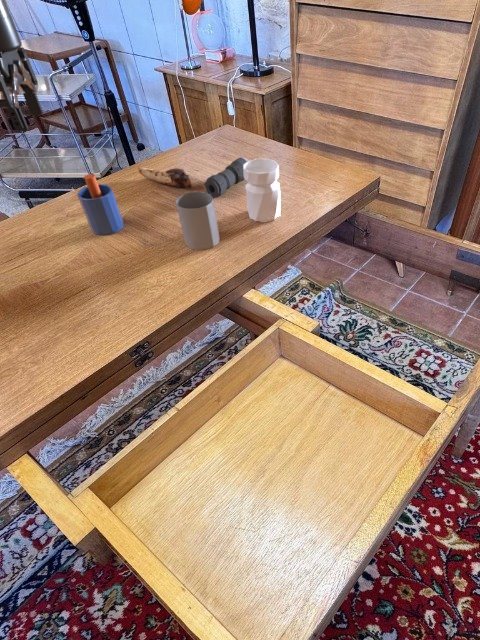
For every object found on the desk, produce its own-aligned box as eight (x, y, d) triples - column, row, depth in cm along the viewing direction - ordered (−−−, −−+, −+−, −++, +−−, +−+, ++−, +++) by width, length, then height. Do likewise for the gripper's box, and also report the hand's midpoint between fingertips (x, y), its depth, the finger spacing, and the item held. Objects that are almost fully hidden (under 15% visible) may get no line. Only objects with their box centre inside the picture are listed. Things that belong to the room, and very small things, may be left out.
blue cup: (88, 235, 110) (73, 200, 103) (96, 219, 115) (82, 184, 108) (120, 234, 110) (107, 199, 103) (127, 218, 115) (115, 183, 108)
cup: (182, 235, 109) (172, 195, 101) (214, 228, 111) (207, 188, 103) (189, 253, 104) (180, 212, 96) (223, 245, 106) (216, 204, 98)
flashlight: (220, 201, 120) (216, 180, 116) (204, 196, 122) (201, 176, 118) (252, 178, 128) (250, 159, 124) (237, 174, 130) (235, 155, 126)
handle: (101, 227, 111) (82, 178, 102) (103, 222, 113) (85, 173, 103) (111, 227, 111) (93, 178, 102) (113, 221, 113) (96, 173, 104)
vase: (279, 222, 112) (277, 174, 103) (246, 222, 113) (240, 173, 103) (282, 205, 118) (280, 158, 109) (250, 205, 118) (245, 158, 109)
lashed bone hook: (204, 181, 129) (155, 169, 134) (202, 164, 125) (151, 152, 130) (185, 194, 123) (134, 180, 128) (182, 177, 120) (130, 163, 125)
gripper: (-20, 5, 78) (23, 110, 91) (-58, 22, 69) (-4, 136, 81) (23, 5, 78) (60, 109, 91) (-9, 22, 69) (37, 135, 82)
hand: (30, 122), depth 86 cm, fingers open, 8 cm apart
